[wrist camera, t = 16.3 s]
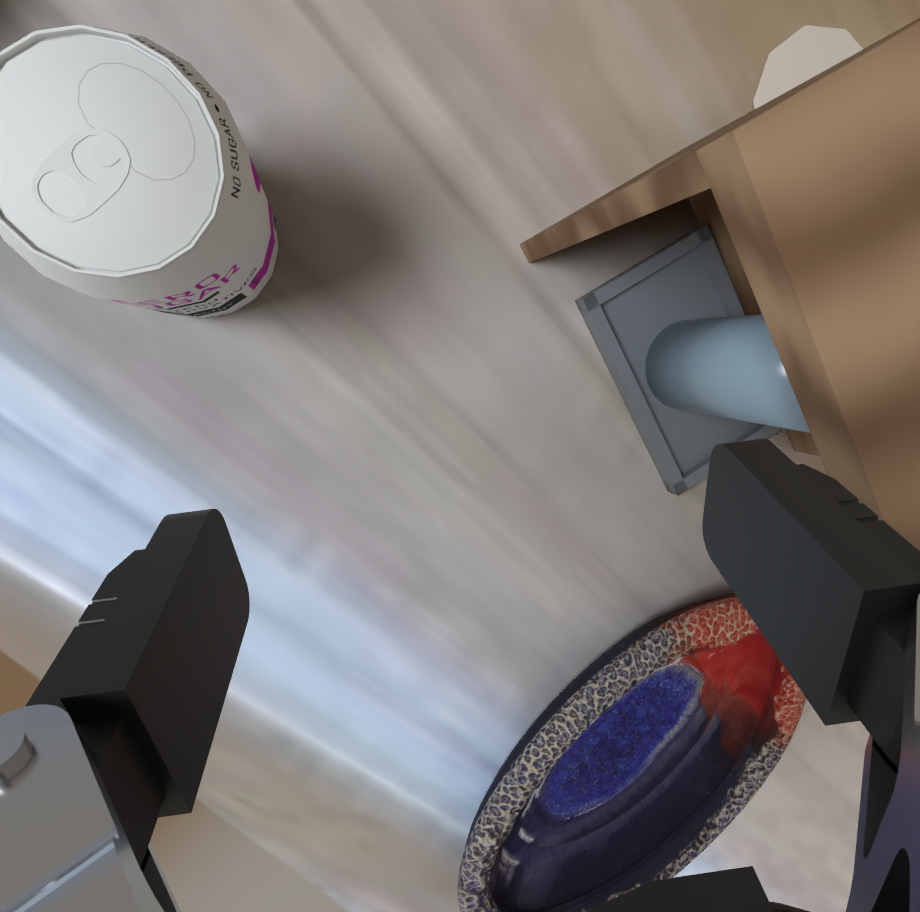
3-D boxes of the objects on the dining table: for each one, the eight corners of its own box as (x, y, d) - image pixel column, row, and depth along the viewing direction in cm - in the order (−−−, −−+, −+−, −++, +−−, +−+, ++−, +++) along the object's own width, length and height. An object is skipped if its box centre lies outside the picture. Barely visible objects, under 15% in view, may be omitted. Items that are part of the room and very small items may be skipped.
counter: (519, 244, 36) (732, 131, 17) (687, 146, 38) (1059, -60, 19) (664, 534, 42) (950, 691, 23) (807, 441, 43) (1195, 516, 24)
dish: (387, 821, 41) (395, 884, 37) (725, 512, 43) (776, 533, 38) (528, 944, 45) (552, 1015, 41) (832, 658, 47) (890, 694, 42)
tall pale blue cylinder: (630, 348, 38) (761, 348, 27) (705, 303, 39) (865, 284, 27) (667, 426, 40) (806, 458, 28) (738, 381, 40) (904, 395, 29)
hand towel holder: (908, 399, 39) (678, 184, 34) (852, 393, 43) (639, 202, 38) (1069, 173, 39) (861, -82, 33) (996, 189, 43) (801, -34, 37)
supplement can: (193, 121, 32) (84, -65, 18) (311, 247, 34) (300, 174, 20) (77, 231, 32) (-131, 133, 17) (203, 350, 34) (113, 353, 19)
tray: (575, 300, 38) (583, 299, 37) (696, 228, 39) (707, 224, 37) (668, 491, 41) (677, 495, 40) (777, 421, 42) (790, 423, 41)
